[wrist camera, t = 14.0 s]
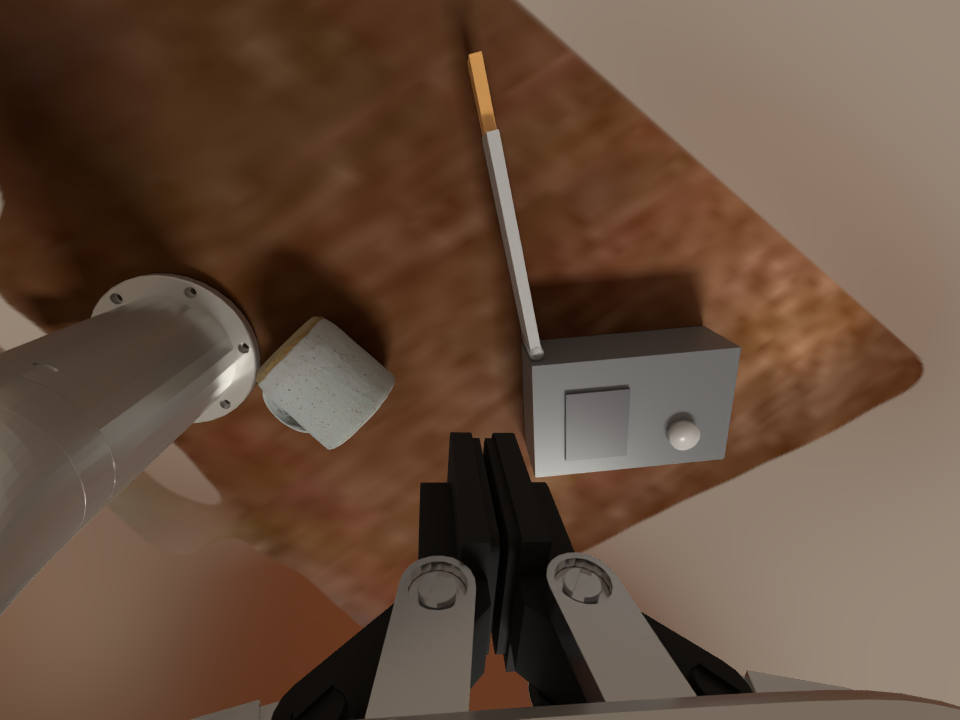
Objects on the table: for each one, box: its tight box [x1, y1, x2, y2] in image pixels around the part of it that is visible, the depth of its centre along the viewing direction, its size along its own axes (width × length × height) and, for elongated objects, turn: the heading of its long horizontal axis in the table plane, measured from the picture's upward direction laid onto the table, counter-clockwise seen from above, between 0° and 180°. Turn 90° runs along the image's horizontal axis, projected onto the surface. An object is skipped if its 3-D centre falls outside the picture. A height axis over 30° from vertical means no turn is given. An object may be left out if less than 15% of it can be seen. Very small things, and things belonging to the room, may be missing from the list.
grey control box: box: [521, 326, 741, 477], centre depth 38 cm, size 17×10×6 cm, turn 94°
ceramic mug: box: [256, 317, 395, 449], centre depth 36 cm, size 11×8×8 cm
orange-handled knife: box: [467, 51, 544, 360], centre depth 33 cm, size 21×1×4 cm, turn 13°
